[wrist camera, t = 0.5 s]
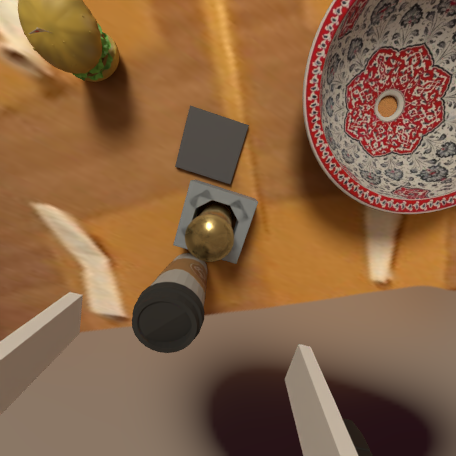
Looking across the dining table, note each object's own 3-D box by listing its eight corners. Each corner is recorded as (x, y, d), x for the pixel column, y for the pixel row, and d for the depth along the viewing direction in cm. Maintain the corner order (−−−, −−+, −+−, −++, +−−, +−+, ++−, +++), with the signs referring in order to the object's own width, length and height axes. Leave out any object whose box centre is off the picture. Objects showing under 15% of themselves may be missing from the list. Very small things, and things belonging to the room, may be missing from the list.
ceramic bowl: (481, -60, 27) (580, -152, 20) (499, 167, 34) (580, 165, 26) (260, 40, 30) (270, -7, 23) (315, 230, 37) (338, 245, 29)
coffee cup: (222, 274, 39) (216, 335, 24) (185, 297, 40) (158, 368, 26) (195, 237, 37) (171, 277, 23) (157, 262, 39) (111, 316, 24)
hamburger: (120, 28, 30) (49, -63, 19) (136, 85, 32) (81, 35, 20) (68, 44, 31) (-31, -35, 19) (87, 99, 32) (7, 57, 21)
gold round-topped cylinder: (196, 228, 37) (179, 253, 25) (205, 196, 36) (192, 208, 24) (227, 238, 37) (225, 267, 26) (237, 207, 36) (240, 223, 24)
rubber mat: (176, 166, 35) (175, 166, 34) (191, 106, 32) (190, 105, 32) (230, 184, 35) (230, 184, 34) (248, 126, 33) (248, 125, 32)
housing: (180, 236, 37) (173, 245, 33) (195, 179, 35) (190, 180, 31) (235, 253, 38) (236, 263, 34) (254, 198, 36) (258, 202, 31)
